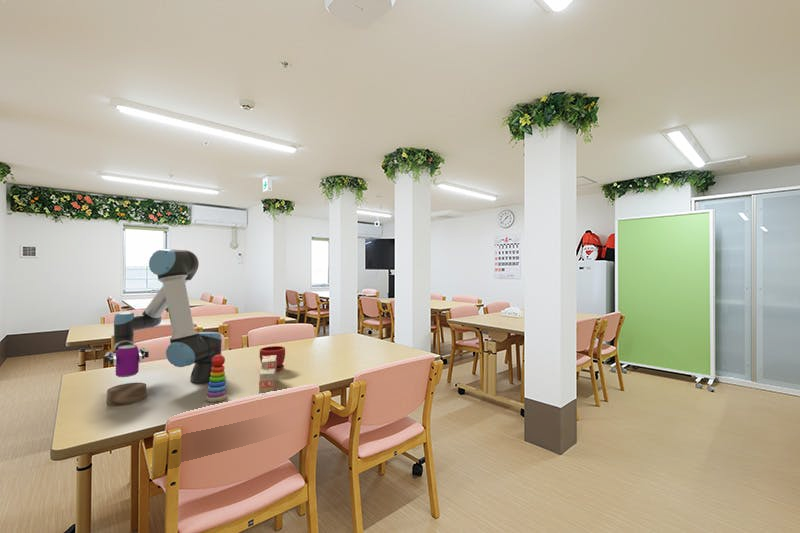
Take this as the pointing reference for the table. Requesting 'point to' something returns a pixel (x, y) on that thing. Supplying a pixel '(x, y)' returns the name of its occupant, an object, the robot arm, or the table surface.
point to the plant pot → (274, 351)
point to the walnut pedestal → (126, 394)
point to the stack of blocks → (268, 374)
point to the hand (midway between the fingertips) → (128, 360)
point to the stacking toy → (217, 380)
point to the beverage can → (127, 360)
